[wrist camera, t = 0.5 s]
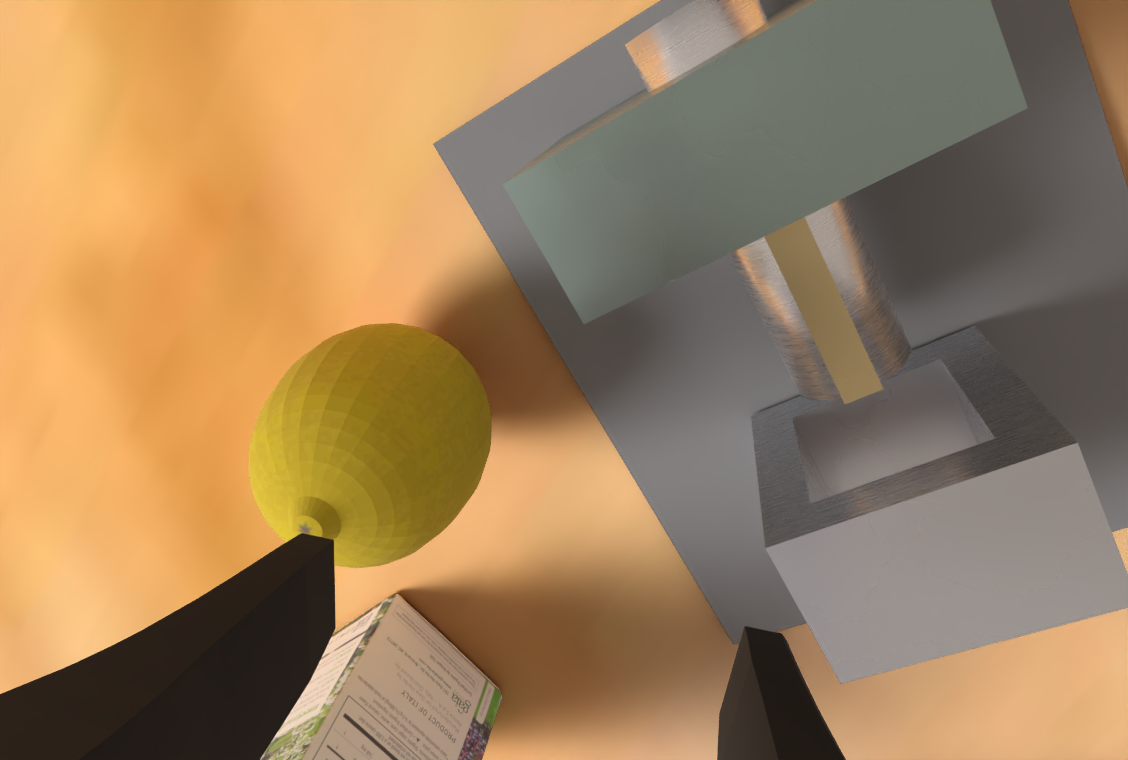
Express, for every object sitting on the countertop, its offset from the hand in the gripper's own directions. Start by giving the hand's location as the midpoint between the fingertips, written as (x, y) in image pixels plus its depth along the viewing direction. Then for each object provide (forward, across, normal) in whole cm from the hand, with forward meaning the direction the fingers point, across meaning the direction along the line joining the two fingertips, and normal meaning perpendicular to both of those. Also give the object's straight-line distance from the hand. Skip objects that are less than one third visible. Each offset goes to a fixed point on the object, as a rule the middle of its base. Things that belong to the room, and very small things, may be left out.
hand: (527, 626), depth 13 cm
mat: (+10, -6, -3) cm, 12 cm away
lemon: (+10, +5, +1) cm, 12 cm away
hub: (+10, -8, 0) cm, 13 cm away
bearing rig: (+10, -3, -7) cm, 12 cm away
